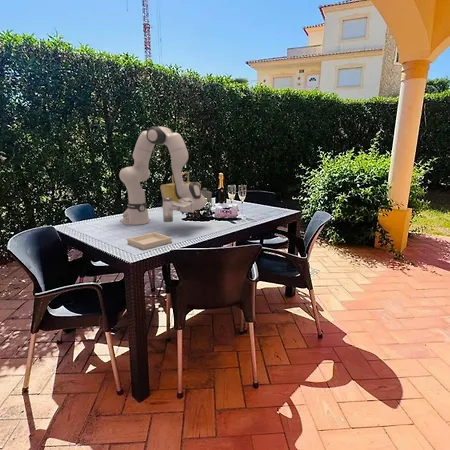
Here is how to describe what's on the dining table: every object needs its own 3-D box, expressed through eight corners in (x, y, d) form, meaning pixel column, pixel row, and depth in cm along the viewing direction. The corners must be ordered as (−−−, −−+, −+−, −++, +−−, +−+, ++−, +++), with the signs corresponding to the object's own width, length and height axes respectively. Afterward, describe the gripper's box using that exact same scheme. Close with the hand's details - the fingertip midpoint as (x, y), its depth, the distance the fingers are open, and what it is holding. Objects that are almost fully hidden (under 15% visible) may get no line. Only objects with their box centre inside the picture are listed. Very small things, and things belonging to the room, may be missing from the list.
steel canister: (161, 221, 186) (160, 198, 182) (169, 219, 190) (168, 196, 187) (167, 222, 182) (166, 199, 179) (175, 221, 186) (174, 198, 183)
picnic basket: (177, 202, 294) (176, 170, 287) (201, 204, 285) (201, 171, 278) (160, 208, 268) (158, 173, 260) (186, 210, 259) (185, 174, 251)
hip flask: (196, 211, 254) (196, 187, 249) (200, 211, 257) (199, 187, 252) (209, 214, 243) (209, 189, 238) (213, 214, 246) (213, 188, 241)
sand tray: (127, 243, 170) (127, 238, 169) (154, 237, 183) (154, 232, 182) (144, 250, 160) (143, 244, 159) (171, 242, 172) (171, 237, 172)
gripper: (173, 198, 199) (156, 200, 189) (195, 202, 186) (177, 205, 176) (174, 207, 201) (156, 210, 191) (195, 212, 188) (177, 216, 178)
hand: (166, 208), depth 183 cm, fingers closed on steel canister, 6 cm apart
